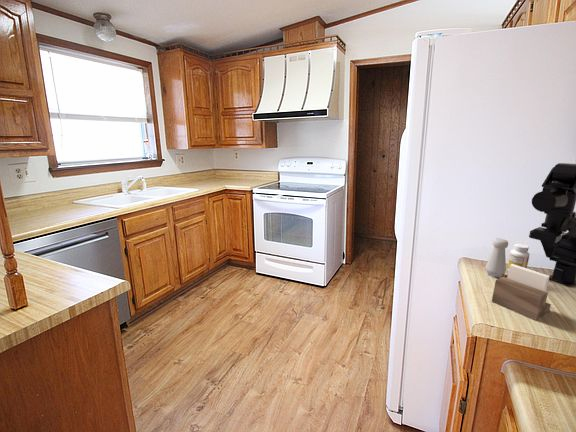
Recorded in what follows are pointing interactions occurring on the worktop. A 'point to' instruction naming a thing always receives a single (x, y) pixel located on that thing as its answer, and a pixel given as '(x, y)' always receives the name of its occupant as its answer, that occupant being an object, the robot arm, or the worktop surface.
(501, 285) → the brown wooden stand
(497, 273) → the salt shaker
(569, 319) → the worktop surface
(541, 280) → the button plate
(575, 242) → the robot arm
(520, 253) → the supplement bottle
